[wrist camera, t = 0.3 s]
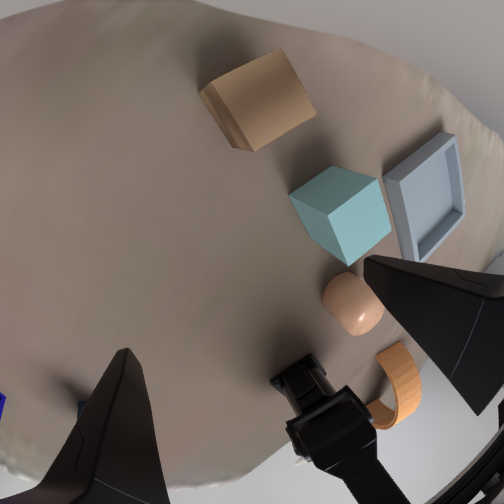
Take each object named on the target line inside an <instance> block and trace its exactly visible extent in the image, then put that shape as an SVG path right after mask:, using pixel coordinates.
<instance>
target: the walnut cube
mask: <svg viewBox="0 0 504 504" xmlns="http://www.w3.org/2000/svg"><path fill="white" fill-rule="evenodd" d="M198 94H199V96H200V97H201V99H202V100H203V102H204V103H205V105H206V107H207V108H208V110H209V111H210V113H211V114H212V116H213V117H214V119H215V121H216V122H217V124H218V125H219V127H220V128H221V130H222V132H223V133H224V135H225V136H226V138H227V139H228V141H229V143H230V144H231V146H232V147H233V148H238V149H243V150H248V151H252V152H255V151H257V150H258V149H260V148H261V147H263V146H265V145H266V144H268V143H269V142H271V141H273V140H274V139H276V138H278V137H279V136H281V135H283V134H284V133H286V132H288V131H289V130H291V129H293V128H295V127H296V126H298V125H300V124H302V123H303V122H305V121H307V120H309V119H310V118H312V117H314V116H316V115H317V113H316V111H315V109H314V107H313V105H312V103H311V101H310V99H309V97H308V95H307V93H306V91H305V89H304V87H303V85H302V84H301V82H300V80H299V78H298V76H297V74H296V73H295V71H294V69H293V67H292V66H291V64H290V62H289V60H288V59H287V57H286V55H285V54H284V52H283V50H282V49H279V50H276V51H274V52H271V53H269V54H267V55H264V56H262V57H260V58H257V59H255V60H253V61H251V62H249V63H247V64H244V65H242V66H240V67H238V68H236V69H234V70H232V71H230V72H228V73H226V74H224V75H222V76H221V77H219V78H217V79H215V80H213V81H211V82H210V83H209V84H208V85H207V86H206V87H205V88H204V89H202V90H201V91H200V92H199V93H198Z"/></svg>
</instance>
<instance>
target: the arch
mask: <svg viewBox="0 0 504 504" xmlns="http://www.w3.org/2000/svg"><path fill="white" fill-rule="evenodd" d="M375 359H376V360H377V361H378V362H379V363H380V365H381V366H382V367H383V369H384V371H385V372H386V374H387V376H388V378H389V380H390V382H391V385H392V388H393V391H394V395H395V401H396V411H394V410H392V409H390V408H388V407H387V406H385V405H384V404H383V403H382V402H381V401H380V400H379V399H377V400H375V401H373V402H372V403H370V404H368V405H366V407H367V409H368V410H369V412H370V413H371V415H372V416H373V418H374V421H375V422H374V423H372V425H373V427H375V428H378V429H383V430H386V429H389V428H391V427H393V426H394V425H396V424H397V423H399V422H400V421H401V420H403V419H404V418H406V417H407V416H408V415H410V414H411V413H412V412H414V410H415V409H416V408H417V407H418V405H419V403H420V399H421V392H422V390H421V380H420V376H419V372H418V369H417V366H416V364H415V362H414V360H413V358H412V356H411V355H410V353H409V352H408V350H407V349H406V348H405V347H404V345H403V344H402V343H401V342H400V341H399V342H398V343H396V344H394V345H393V346H391V347H389V348H388V349H386V350H384V351H383V352H381V353H379V354H377V355H376V358H375Z"/></svg>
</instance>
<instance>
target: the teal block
mask: <svg viewBox="0 0 504 504" xmlns="http://www.w3.org/2000/svg"><path fill="white" fill-rule="evenodd" d="M288 196H289V197H290V199H291V201H292V203H293V205H294V207H295V209H296V211H297V213H298V215H299V216H300V218H301V220H302V222H303V224H304V226H305V228H306V230H307V232H308V234H309V236H310V238H311V239H312V240H313V241H315V242H316V243H318V244H319V245H320V246H322V247H323V248H324V249H326V250H327V251H328V252H330V253H331V254H332V255H334V256H335V257H336V258H338V259H339V260H340V261H342V262H343V263H344V264H346V265H347V266H348V267H349V266H350V265H351V264H352V263H354V262H355V261H356V260H357V259H358V258H360V257H361V256H362V255H363V254H364V253H366V252H367V251H368V250H369V249H370V248H372V247H373V246H374V245H375V244H376V243H377V242H379V241H380V240H381V239H382V238H383V237H384V236H386V235H387V234H388V233H389V232H390V231H391V225H390V222H389V218H388V214H387V210H386V207H385V203H384V200H383V196H382V193H381V189H380V186H379V183H378V180H377V178H374V177H371V176H367V175H364V174H360V173H357V172H353V171H350V170H346V169H343V168H339V167H335V166H331V167H329V168H328V169H326V170H325V171H323V172H322V173H320V174H319V175H317V176H316V177H314V178H313V179H311V180H310V181H308V182H307V183H305V184H304V185H303V186H301V187H300V188H298V189H297V190H295V191H294V192H292V193H291V194H289V195H288Z"/></svg>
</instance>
